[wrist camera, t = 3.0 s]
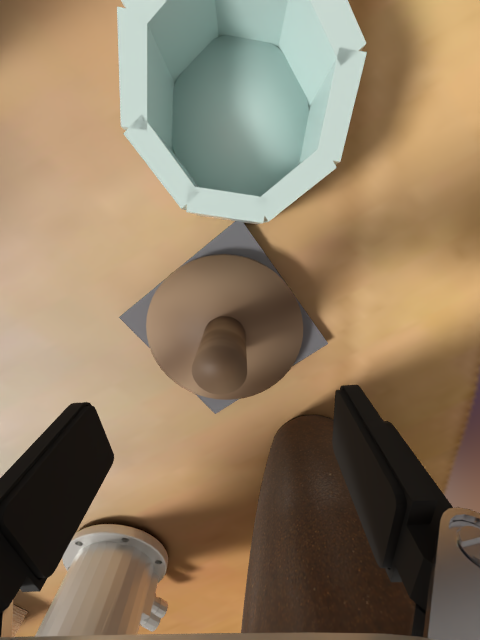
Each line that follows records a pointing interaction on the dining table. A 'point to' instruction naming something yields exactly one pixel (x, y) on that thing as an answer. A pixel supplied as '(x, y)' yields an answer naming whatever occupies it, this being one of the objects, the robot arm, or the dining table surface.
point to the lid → (224, 327)
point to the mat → (234, 243)
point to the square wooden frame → (17, 618)
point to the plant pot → (315, 547)
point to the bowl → (238, 98)
